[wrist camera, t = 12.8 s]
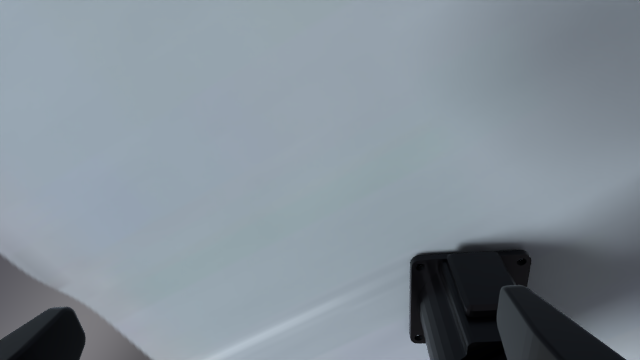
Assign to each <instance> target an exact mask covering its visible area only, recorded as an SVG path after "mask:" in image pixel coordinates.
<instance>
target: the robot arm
mask: <svg viewBox="0 0 640 360" xmlns="http://www.w3.org/2000/svg"><path fill="white" fill-rule="evenodd" d="M521 258H523V259H522V260H521V261H518V260H519V259H521ZM420 263H421V264H423V265H422V266H416V265H418V264H420ZM530 265H531V258H530V257H529V255H528V254H527V252H526V251H524V250H512V251H494V252H475V253H457V254H438V255H420V256H415V257H414V258H412V260H411V262H410V329H409V333H410V338H411V341H412V342H414V343H426V345H427V349H428V353H429V357H430V360H626V359H625V358H623V357H622V356H620V355H619V354H618V353H616V352H615V351H614V350H612V349H611V348H609V347H608V346H607V345H605V344H604V343H603V342H601V341H600V340H598V339H597V338H596V337H594V336H593V335H592V334H590V333H589V332H587V331H586V330H585V329H583V328H582V327H581V326H579V325H578V324H576V323H575V322H574V321H572V320H571V319H570V318H568V317H567V316H565V315H564V314H563V313H561V312H560V311H558V310H557V309H556V308H554V307H553V306H552V305H550V304H549V303H547V302H546V301H545V300H543V299H542V298H541V297H539V296H538V295H536V294H535V293H534V292H532V291H531V290H530V289H528V288H527V282H528V277H529V271H530ZM416 335H418V336H416ZM84 345H85V333H84V330H83V328H82V326H81V324H80V322H79V320H78V318H77V316H76V313H75V312H74V310H73V309H71V308H70V307H54V308H50V309H48V310H47V311H44V312H43V313H41V314H40V315H38V316H37V317H35V318H34V319H32V320H31V321H29V322H27V323H26V324H24V325H23V326H21V327H20V328H18V329H16V330H15V331H13V332H12V333H10V334H9V335H7V336H6V337H4V338H3V339H1V340H0V360H79V359H80V357H81V354H82V351H83V348H84Z"/></svg>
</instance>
